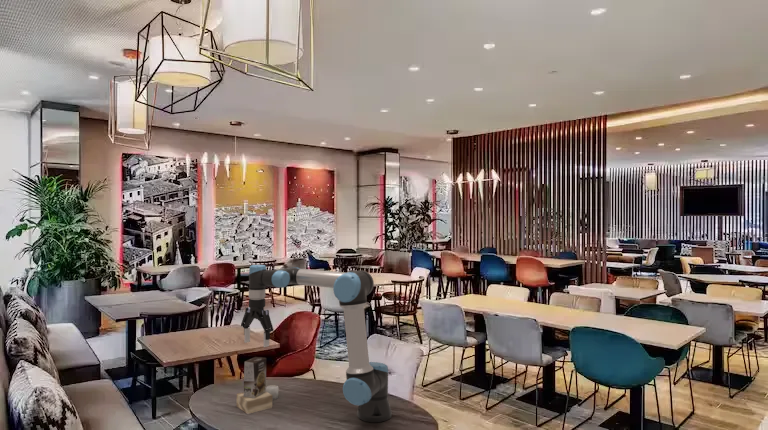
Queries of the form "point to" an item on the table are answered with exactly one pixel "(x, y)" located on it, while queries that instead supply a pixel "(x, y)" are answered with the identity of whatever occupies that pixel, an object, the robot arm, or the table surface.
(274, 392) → the white rounded dome
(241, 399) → the maple block
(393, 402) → the table surface
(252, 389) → the coffee box
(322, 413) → the table surface
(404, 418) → the table surface
